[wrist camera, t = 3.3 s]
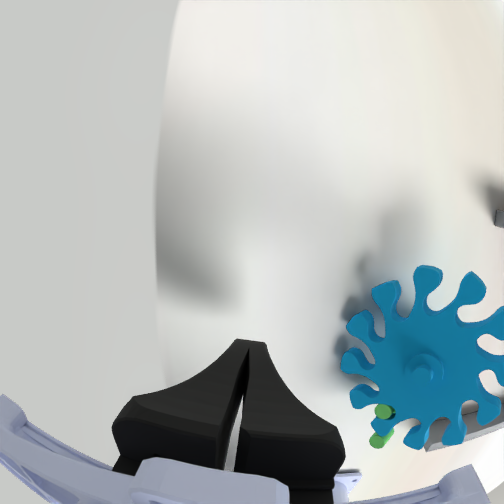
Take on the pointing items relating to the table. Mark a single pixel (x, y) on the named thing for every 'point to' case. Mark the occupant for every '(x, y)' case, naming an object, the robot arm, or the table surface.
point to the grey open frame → (469, 419)
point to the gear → (425, 361)
